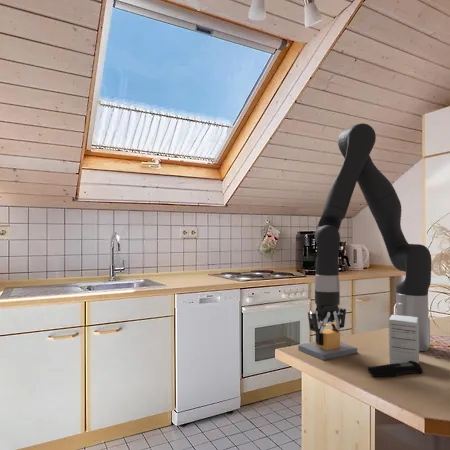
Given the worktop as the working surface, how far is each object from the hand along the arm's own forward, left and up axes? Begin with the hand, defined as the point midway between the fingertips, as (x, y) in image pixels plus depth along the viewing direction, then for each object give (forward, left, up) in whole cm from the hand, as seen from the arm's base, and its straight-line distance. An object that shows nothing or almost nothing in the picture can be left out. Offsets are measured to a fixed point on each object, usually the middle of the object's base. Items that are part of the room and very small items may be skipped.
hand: (327, 343), depth 118 cm
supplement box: (-12, +18, -3) cm, 22 cm away
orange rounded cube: (0, 0, -1) cm, 1 cm away
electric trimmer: (-2, +23, -3) cm, 23 cm away
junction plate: (0, 0, -3) cm, 3 cm away
